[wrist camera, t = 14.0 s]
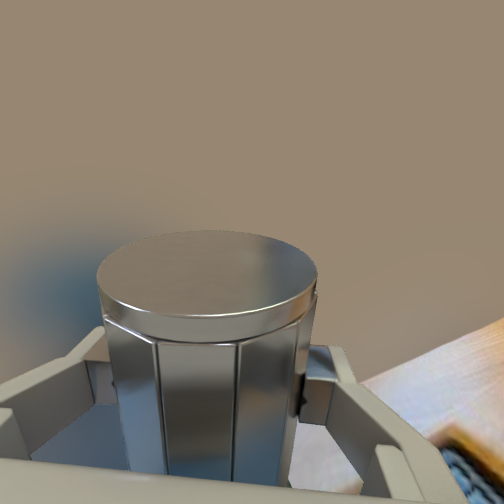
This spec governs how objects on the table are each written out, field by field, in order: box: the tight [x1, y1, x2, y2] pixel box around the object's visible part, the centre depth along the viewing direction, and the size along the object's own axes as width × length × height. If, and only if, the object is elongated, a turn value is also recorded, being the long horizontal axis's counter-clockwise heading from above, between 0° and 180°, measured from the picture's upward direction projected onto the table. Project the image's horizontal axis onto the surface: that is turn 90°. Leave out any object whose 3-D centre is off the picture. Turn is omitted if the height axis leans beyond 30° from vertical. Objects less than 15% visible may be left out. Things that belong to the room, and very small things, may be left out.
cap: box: [97, 230, 318, 487], centre depth 9 cm, size 6×6×9 cm
